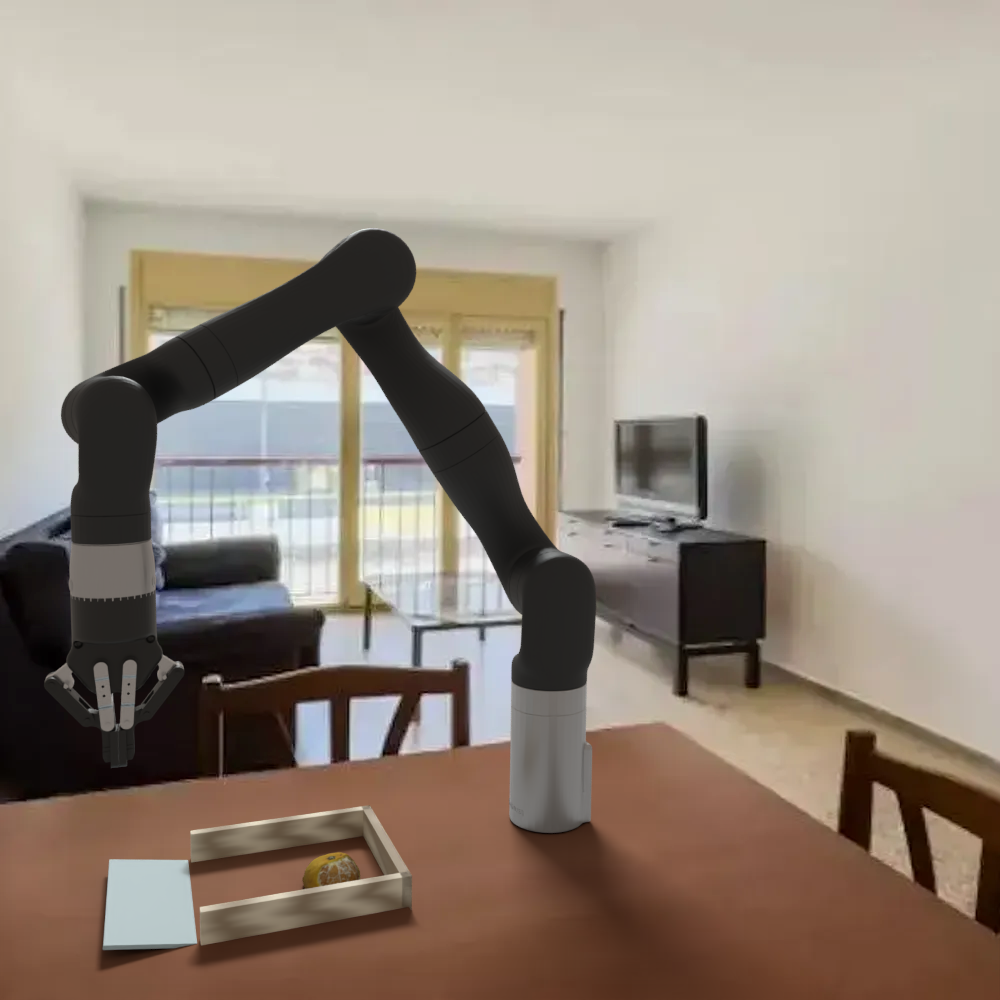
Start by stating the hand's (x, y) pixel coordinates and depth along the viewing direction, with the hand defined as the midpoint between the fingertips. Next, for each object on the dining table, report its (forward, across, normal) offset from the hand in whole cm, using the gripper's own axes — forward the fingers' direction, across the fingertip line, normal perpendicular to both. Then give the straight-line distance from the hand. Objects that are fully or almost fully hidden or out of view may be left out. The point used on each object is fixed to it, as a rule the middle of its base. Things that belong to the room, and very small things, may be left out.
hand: (118, 764), depth 89 cm
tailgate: (+15, -6, 0) cm, 16 cm away
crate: (+15, -17, 0) cm, 23 cm away
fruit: (+16, -20, +4) cm, 26 cm away
